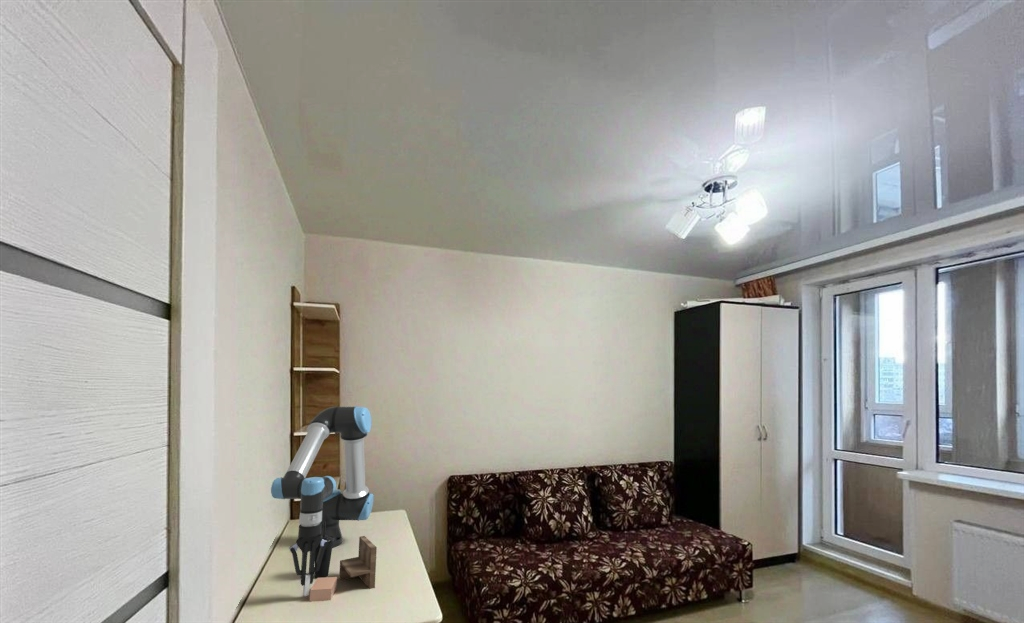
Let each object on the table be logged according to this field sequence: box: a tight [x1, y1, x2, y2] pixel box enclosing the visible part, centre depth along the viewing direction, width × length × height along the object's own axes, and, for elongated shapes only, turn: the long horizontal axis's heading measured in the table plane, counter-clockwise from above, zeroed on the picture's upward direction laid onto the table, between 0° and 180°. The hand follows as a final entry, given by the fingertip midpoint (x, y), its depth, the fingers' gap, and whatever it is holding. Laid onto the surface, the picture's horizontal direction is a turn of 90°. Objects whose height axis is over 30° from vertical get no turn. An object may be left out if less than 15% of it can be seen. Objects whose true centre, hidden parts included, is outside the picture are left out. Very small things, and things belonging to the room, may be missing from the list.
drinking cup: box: [314, 522, 334, 579], centre depth 186 cm, size 8×8×20 cm
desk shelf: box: [338, 535, 378, 589], centre depth 180 cm, size 15×9×14 cm, turn 34°
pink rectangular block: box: [309, 576, 338, 602], centre depth 170 cm, size 7×10×4 cm
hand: (306, 594), depth 166 cm, fingers closed
